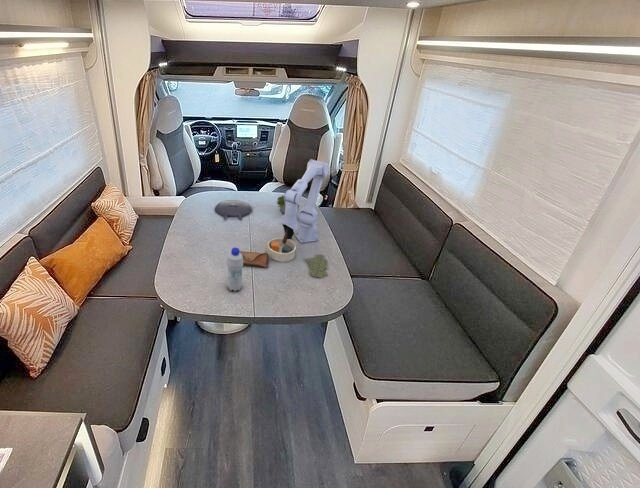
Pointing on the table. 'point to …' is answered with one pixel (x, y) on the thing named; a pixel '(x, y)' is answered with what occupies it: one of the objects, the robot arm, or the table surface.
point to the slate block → (286, 249)
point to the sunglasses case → (255, 259)
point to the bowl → (279, 255)
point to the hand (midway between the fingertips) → (288, 237)
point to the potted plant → (282, 204)
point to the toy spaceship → (233, 208)
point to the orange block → (275, 246)
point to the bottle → (235, 269)
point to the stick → (285, 238)
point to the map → (317, 266)
